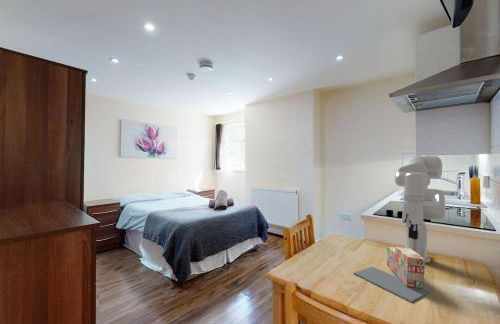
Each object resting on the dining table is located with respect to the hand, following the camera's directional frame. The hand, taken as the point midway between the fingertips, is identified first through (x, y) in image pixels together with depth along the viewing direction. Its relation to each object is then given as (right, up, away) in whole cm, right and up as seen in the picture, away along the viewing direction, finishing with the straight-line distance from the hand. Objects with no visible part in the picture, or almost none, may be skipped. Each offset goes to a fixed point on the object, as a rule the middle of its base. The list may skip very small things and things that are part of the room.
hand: (413, 238), depth 106 cm
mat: (-17, -16, -9) cm, 25 cm away
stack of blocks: (-7, -16, -4) cm, 18 cm away
